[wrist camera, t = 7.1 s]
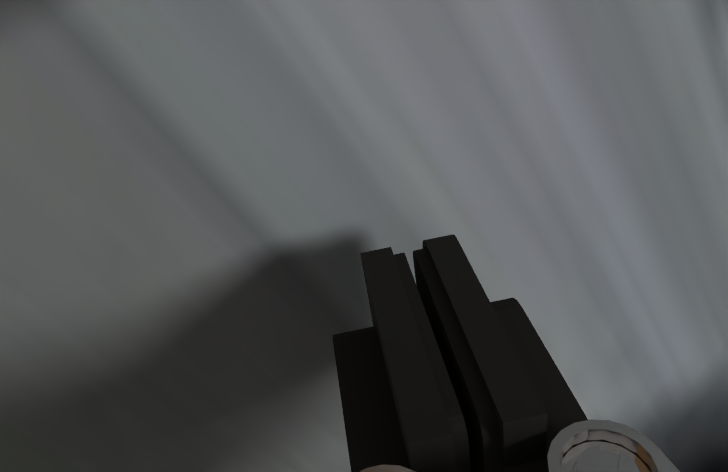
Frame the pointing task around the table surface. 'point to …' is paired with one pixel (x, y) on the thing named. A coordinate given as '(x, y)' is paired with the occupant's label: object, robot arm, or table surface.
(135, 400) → the table surface
